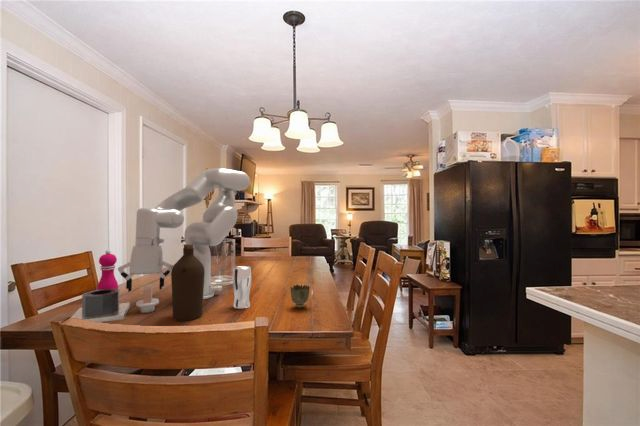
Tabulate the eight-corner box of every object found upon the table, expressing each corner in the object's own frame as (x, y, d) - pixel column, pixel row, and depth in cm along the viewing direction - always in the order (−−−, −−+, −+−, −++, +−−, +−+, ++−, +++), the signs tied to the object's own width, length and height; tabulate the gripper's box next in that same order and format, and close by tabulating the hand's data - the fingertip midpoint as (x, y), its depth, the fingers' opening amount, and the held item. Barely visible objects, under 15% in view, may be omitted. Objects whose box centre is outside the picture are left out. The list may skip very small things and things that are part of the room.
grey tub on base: (129, 306, 113) (129, 285, 113) (123, 319, 100) (123, 295, 100) (80, 311, 106) (80, 289, 106) (66, 326, 93) (66, 300, 93)
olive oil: (208, 317, 102) (209, 244, 102) (175, 324, 96) (175, 246, 96) (198, 309, 111) (199, 242, 110) (167, 315, 104) (168, 243, 104)
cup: (298, 303, 119) (298, 283, 119) (313, 306, 115) (313, 286, 115) (286, 307, 113) (286, 286, 113) (301, 311, 109) (301, 290, 109)
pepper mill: (107, 301, 118) (107, 251, 118) (92, 300, 120) (92, 250, 120) (122, 296, 126) (122, 249, 126) (108, 295, 127) (108, 248, 127)
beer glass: (254, 305, 116) (255, 266, 116) (243, 310, 110) (243, 269, 110) (240, 302, 119) (240, 265, 119) (228, 307, 113) (228, 268, 112)
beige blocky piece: (159, 306, 113) (159, 284, 113) (158, 312, 107) (158, 288, 107) (137, 309, 110) (137, 286, 110) (134, 315, 103) (135, 291, 103)
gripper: (174, 241, 115) (172, 285, 115) (120, 241, 108) (118, 289, 107) (174, 242, 108) (172, 290, 108) (117, 243, 101) (115, 294, 100)
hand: (145, 289), depth 108 cm, fingers open, 9 cm apart
